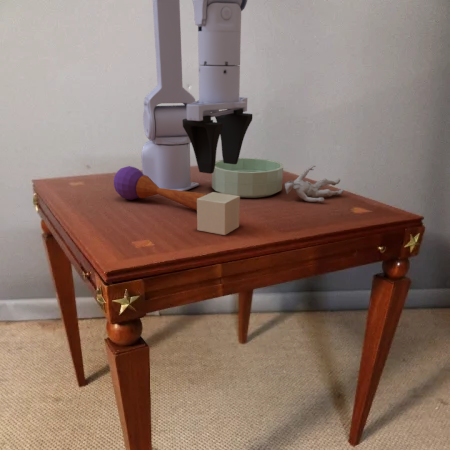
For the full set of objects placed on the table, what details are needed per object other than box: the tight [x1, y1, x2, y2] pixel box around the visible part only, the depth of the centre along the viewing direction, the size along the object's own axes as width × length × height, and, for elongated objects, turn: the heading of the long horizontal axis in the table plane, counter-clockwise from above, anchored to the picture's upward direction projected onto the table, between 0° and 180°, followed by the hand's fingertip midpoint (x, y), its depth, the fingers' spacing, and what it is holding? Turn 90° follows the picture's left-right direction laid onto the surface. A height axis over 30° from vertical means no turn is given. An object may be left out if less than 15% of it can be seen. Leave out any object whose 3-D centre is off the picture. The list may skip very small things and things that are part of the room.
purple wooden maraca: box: [113, 165, 208, 211], centre depth 90 cm, size 6×6×20 cm
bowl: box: [211, 157, 284, 199], centre depth 100 cm, size 14×14×5 cm
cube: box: [196, 191, 241, 236], centre depth 78 cm, size 5×5×5 cm
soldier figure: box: [284, 165, 344, 203], centre depth 96 cm, size 8×5×12 cm
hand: (218, 167), depth 75 cm, fingers open, 7 cm apart
